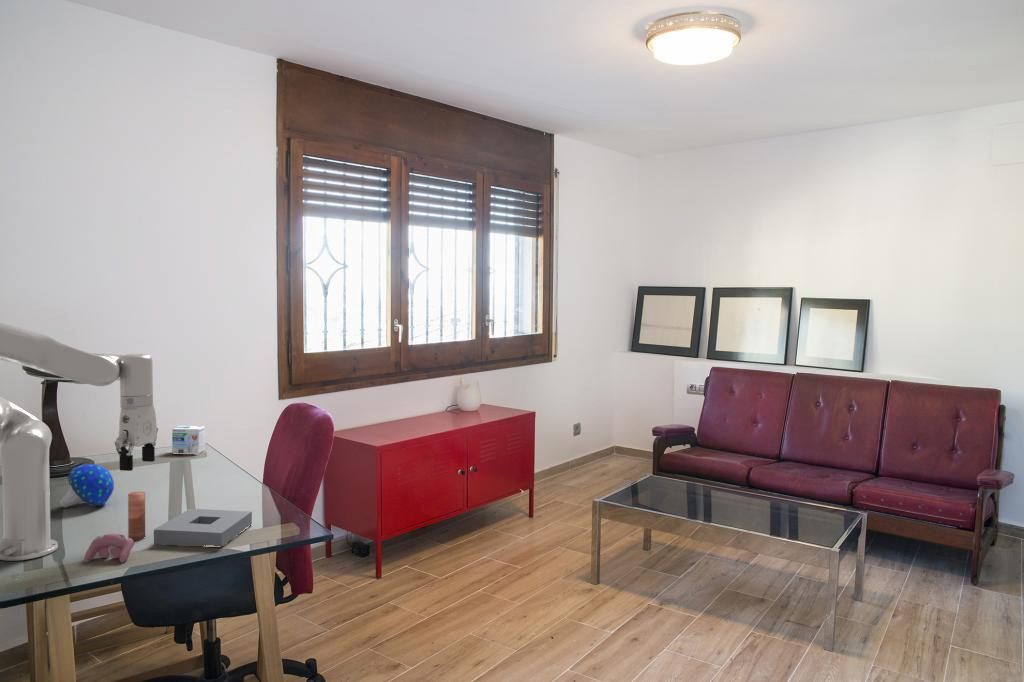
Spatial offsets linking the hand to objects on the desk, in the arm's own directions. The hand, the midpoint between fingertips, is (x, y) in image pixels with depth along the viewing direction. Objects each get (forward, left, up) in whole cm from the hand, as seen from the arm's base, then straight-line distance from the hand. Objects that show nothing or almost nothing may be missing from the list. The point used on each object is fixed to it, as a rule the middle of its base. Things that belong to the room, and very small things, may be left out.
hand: (137, 465), depth 182 cm
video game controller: (-15, -2, -20) cm, 25 cm away
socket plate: (+5, -16, -19) cm, 26 cm away
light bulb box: (+95, +37, -20) cm, 103 cm away
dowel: (0, 0, -19) cm, 19 cm away
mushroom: (+24, +30, -20) cm, 43 cm away
